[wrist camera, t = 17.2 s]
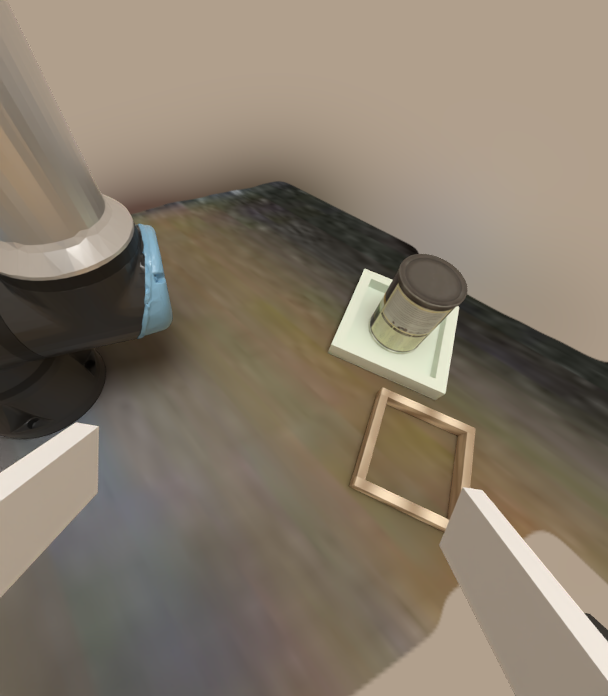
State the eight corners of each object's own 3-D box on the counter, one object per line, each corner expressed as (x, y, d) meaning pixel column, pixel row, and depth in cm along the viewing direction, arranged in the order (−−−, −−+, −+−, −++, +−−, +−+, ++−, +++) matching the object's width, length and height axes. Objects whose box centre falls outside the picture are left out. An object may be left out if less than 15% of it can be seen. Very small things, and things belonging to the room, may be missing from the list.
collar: (349, 486, 40) (354, 485, 38) (377, 393, 48) (382, 387, 46) (453, 536, 39) (465, 538, 37) (465, 432, 47) (475, 428, 44)
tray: (327, 352, 50) (331, 344, 48) (360, 278, 60) (364, 268, 58) (435, 400, 49) (445, 393, 46) (450, 316, 59) (459, 307, 56)
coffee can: (363, 308, 56) (392, 251, 43) (412, 309, 57) (454, 255, 45) (373, 355, 51) (410, 305, 38) (427, 355, 52) (478, 307, 40)
